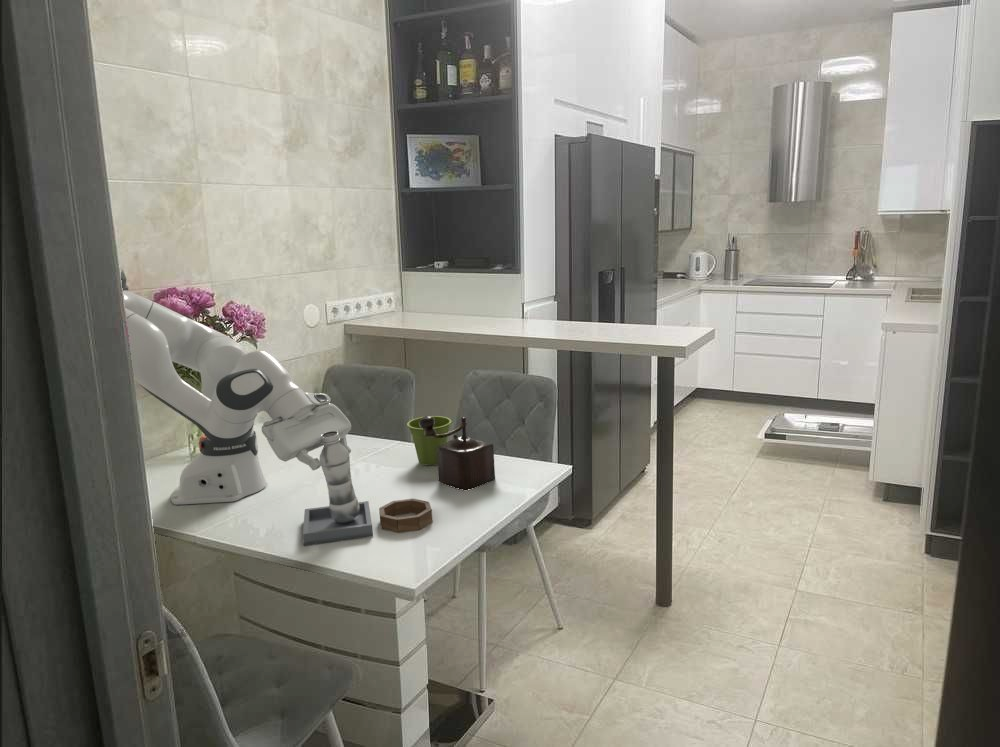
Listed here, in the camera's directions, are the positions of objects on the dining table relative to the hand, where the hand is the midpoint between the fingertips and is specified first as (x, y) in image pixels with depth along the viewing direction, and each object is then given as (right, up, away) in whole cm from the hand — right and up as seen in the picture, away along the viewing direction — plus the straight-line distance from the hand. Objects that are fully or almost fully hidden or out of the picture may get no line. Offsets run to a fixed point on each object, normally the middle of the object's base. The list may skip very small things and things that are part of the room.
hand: (333, 460), depth 157 cm
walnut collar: (+15, -14, +5) cm, 21 cm away
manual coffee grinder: (+25, -9, +26) cm, 38 cm away
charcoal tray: (0, -15, +3) cm, 15 cm away
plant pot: (+17, -6, +44) cm, 47 cm away
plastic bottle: (+2, -14, +5) cm, 14 cm away
